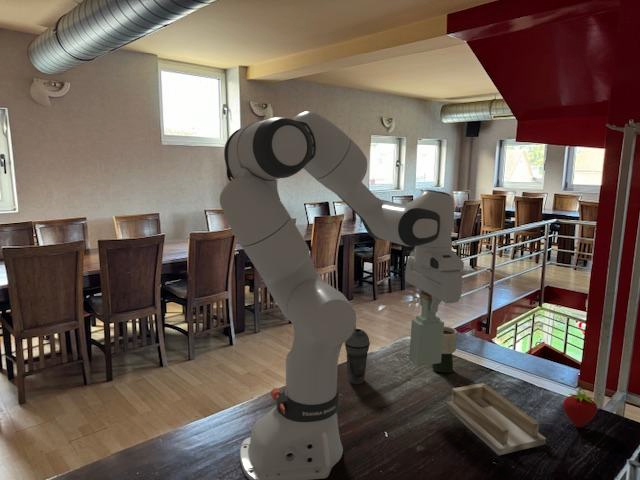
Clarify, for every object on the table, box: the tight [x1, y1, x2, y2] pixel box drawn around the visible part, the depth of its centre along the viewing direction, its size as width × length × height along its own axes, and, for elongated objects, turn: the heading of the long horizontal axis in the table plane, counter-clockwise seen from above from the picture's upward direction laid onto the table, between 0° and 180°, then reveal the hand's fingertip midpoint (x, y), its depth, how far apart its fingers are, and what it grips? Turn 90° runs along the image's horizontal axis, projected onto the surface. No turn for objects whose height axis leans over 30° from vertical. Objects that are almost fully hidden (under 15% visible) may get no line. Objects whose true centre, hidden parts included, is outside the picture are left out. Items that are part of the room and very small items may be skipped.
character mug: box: [431, 325, 458, 374], centre depth 134 cm, size 11×7×13 cm, turn 11°
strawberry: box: [563, 387, 598, 428], centre depth 107 cm, size 6×8×10 cm
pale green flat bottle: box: [408, 293, 445, 367], centre depth 113 cm, size 7×4×18 cm, turn 108°
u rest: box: [445, 382, 547, 456], centre depth 108 cm, size 13×20×5 cm, turn 18°
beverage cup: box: [344, 325, 371, 385], centre depth 127 cm, size 7×7×20 cm
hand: (428, 309), depth 112 cm, fingers closed on pale green flat bottle, 3 cm apart
